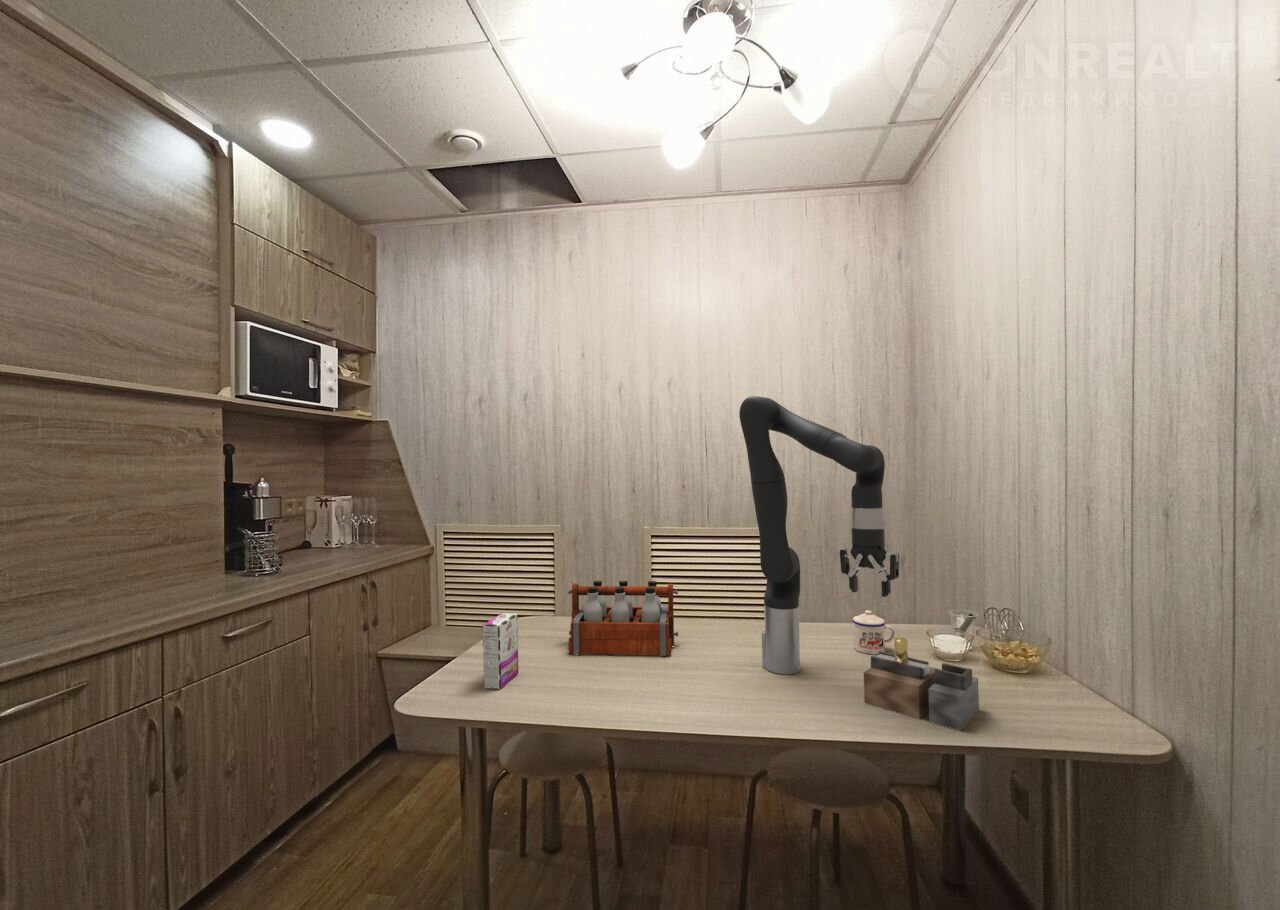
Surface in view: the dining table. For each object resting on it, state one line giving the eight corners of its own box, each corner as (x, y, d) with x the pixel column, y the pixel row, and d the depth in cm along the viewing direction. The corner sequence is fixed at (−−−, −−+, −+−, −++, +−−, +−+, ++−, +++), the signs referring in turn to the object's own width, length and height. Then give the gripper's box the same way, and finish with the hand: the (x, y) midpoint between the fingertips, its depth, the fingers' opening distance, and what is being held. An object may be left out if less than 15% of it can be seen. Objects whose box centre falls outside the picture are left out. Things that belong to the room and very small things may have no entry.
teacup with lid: (857, 654, 158) (856, 614, 159) (849, 644, 167) (848, 606, 168) (900, 655, 157) (899, 615, 157) (890, 645, 166) (889, 607, 166)
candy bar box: (502, 672, 148) (501, 612, 149) (519, 673, 147) (518, 613, 148) (482, 689, 137) (481, 623, 138) (500, 690, 136) (500, 624, 137)
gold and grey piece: (875, 665, 130) (874, 635, 130) (880, 662, 132) (879, 633, 132) (924, 677, 122) (923, 646, 122) (929, 673, 124) (928, 642, 124)
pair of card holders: (864, 702, 126) (863, 659, 126) (887, 685, 136) (886, 645, 136) (960, 731, 112) (959, 682, 112) (979, 709, 122) (977, 664, 122)
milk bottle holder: (575, 634, 182) (575, 577, 183) (679, 636, 179) (678, 577, 180) (561, 656, 161) (560, 591, 162) (678, 658, 158) (677, 591, 159)
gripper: (832, 525, 135) (834, 592, 135) (891, 529, 125) (894, 601, 125) (846, 523, 141) (848, 587, 140) (903, 526, 130) (906, 595, 130)
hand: (869, 593), depth 132 cm, fingers open, 7 cm apart
